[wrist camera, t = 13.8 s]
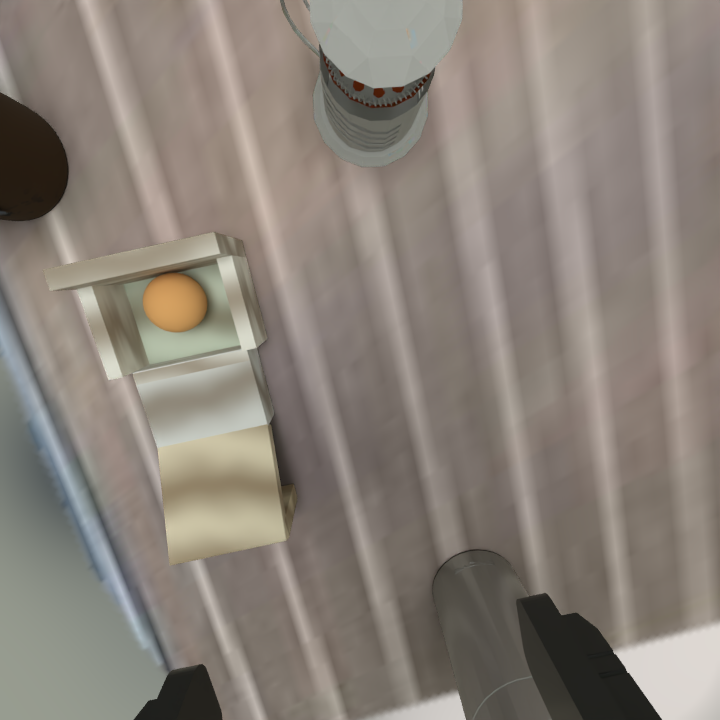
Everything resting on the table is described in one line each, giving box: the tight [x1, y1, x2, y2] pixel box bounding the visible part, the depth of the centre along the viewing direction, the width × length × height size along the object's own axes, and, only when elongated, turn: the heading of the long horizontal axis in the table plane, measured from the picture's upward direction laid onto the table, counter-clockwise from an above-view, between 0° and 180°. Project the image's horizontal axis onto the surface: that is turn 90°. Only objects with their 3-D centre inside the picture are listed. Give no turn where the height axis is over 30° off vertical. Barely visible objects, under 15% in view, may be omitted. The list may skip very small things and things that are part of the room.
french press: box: [280, 0, 463, 167], centre depth 23 cm, size 10×12×25 cm
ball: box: [143, 273, 207, 332], centre depth 35 cm, size 5×5×5 cm
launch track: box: [43, 232, 297, 565], centre depth 36 cm, size 26×12×8 cm, turn 12°
